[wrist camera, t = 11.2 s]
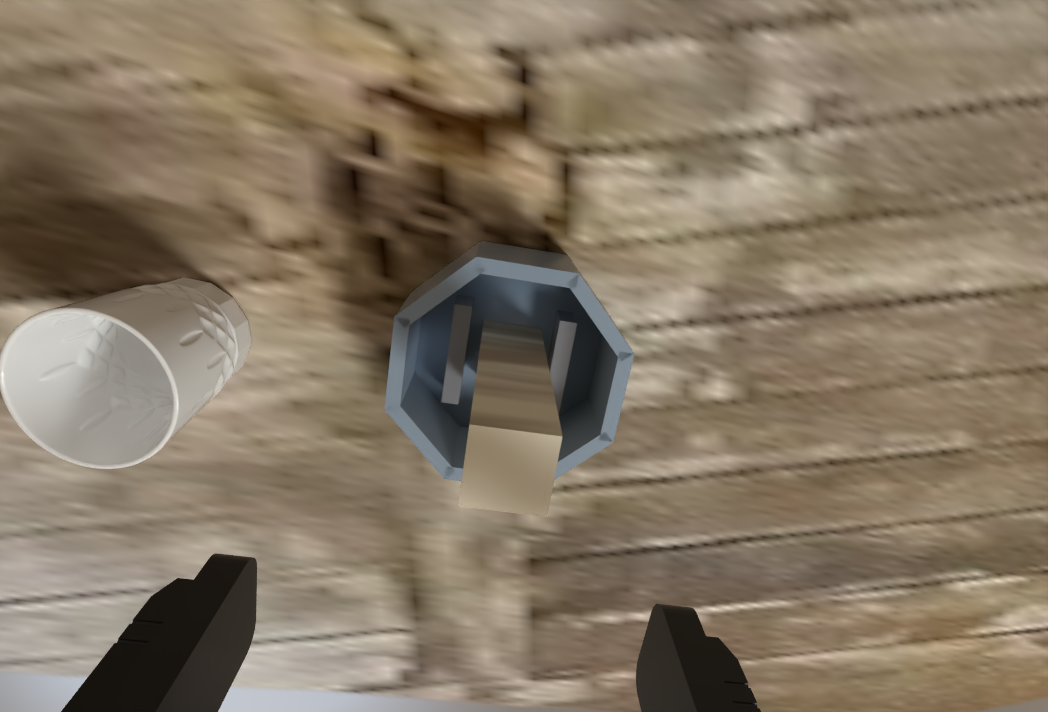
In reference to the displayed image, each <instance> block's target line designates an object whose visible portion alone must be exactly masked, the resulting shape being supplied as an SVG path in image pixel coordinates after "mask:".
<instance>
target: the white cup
mask: <svg viewBox="0 0 1048 712" xmlns="http://www.w3.org/2000/svg"><path fill="white" fill-rule="evenodd" d="M250 346H251V338H250V332H249V325H248V320H247V318H246V316H245V315H244V313H243V312H242V310H241V309H240V307H239V306H238V304H237V303H236V301H235V300H234V298H233V297H231V296H230V295H228V294H227V293H225V292H224V291H222V290H221V289H219V288H218V287H216V286H215V285H213V284H212V283H209V282H204V281H200V280H195V279H190V278H180V279H176V280H171V281H167V282H163V283H159V284H155V285H149V284H148V285H143V286H139V287H135V288H128V289H125V290H121V291H118V292H114V293H110V294H107V295H103V296H99V297H95V298H91V299H88V300H84V301H81V302H77V303H73V304H69V305H66V306H62V307H58V308H54V309H50V310H47V311H43V312H40V313H38V314H35V315H33V316H31V317H30V318H28V319H26V320H25V321H23V322H22V323H21V324H20V325H18V326H17V327H16V328H15V329H14V330H13V331H12V333H11V334H10V335H9V337H8V338H7V340H6V342H5V344H4V346H3V348H2V351H1V354H0V390H1V394H2V397H3V400H4V402H5V404H6V407H7V409H8V410H9V412H10V414H11V416H12V417H13V419H14V420H15V421H16V423H17V424H18V425H19V427H20V428H21V429H22V430H23V431H24V432H25V433H26V434H27V435H28V436H29V437H30V438H31V439H32V440H33V441H34V442H36V443H37V444H38V445H39V446H41V447H42V448H44V449H45V450H47V451H48V452H50V453H52V454H53V455H55V456H57V457H59V458H61V459H64V460H66V461H68V462H71V463H74V464H77V465H81V466H85V467H91V468H99V469H114V468H122V467H127V466H131V465H134V464H137V463H140V462H142V461H144V460H146V459H148V458H150V457H151V456H153V455H154V454H155V453H157V452H158V451H159V450H160V449H161V448H162V447H163V446H164V445H165V444H166V443H167V442H168V441H169V440H170V439H171V438H172V437H173V436H174V435H175V434H176V433H177V432H179V431H180V430H181V429H182V428H183V427H184V426H185V425H186V424H187V423H188V422H189V421H190V420H191V419H192V418H193V417H194V416H195V415H196V414H197V413H198V412H199V411H200V410H201V409H202V408H204V407H205V406H206V405H207V404H208V403H209V402H210V401H211V399H212V398H213V397H214V396H215V395H216V394H217V393H218V392H219V391H220V390H221V389H222V388H223V386H224V385H225V383H226V382H227V380H228V379H229V378H230V377H231V376H232V375H233V374H235V373H236V372H237V371H238V370H239V369H240V368H241V367H242V366H243V365H244V363H245V360H246V357H247V354H248V352H249V349H250Z"/></svg>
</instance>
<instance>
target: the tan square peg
mask: <svg viewBox="0 0 1048 712" xmlns="http://www.w3.org/2000/svg"><path fill="white" fill-rule="evenodd" d="M562 437H563V436H562V431H561V426H560V421H559V416H558V411H557V406H556V401H555V396H554V391H553V386H552V381H551V376H550V371H549V366H548V361H547V356H546V351H545V346H544V341H543V336H542V331H541V328H538V327H531V326H524V325H517V324H510V323H503V322H496V321H489V320H484V323H483V330H482V337H481V344H480V351H479V358H478V365H477V373H476V380H475V387H474V394H473V401H472V409H471V416H470V423H469V430H468V438H467V445H466V452H465V459H464V466H463V474H462V481H461V488H460V495H459V503H458V506H461V507H469V508H478V509H486V510H494V511H503V512H511V513H519V514H527V515H536V516H544V517H547V514H548V509H549V504H550V499H551V494H552V489H553V483H554V478H555V473H556V468H557V463H558V458H559V452H560V447H561V442H562Z"/></svg>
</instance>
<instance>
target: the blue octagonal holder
mask: <svg viewBox="0 0 1048 712" xmlns="http://www.w3.org/2000/svg"><path fill="white" fill-rule="evenodd" d="M484 320H489V321H496V322H503V323H510V324H517V325H524V326H531V327H538V328H541V331H542V336H543V341H544V346H545V351H546V356H547V361H548V366H549V371H550V376H551V381H552V386H553V391H554V396H555V401H556V406H557V411H558V416H559V421H560V426H561V431H562V436H563V437H562V442H561V447H560V452H559V458H558V463H557V468H556V473H555V478H554V480H555V479H556V478H558V477H559V476H561V475H563V474H564V473H566V472H567V471H569V470H570V469H572V468H573V467H575V466H577V465H578V464H580V463H581V462H583V461H584V460H586V459H588V458H589V457H591V456H592V455H594V454H595V453H597V452H599V451H600V450H602V449H603V448H605V447H606V446H608V445H610V444H611V443H613V441H614V437H615V433H616V429H617V424H618V420H619V416H620V412H621V407H622V403H623V399H624V395H625V391H626V386H627V382H628V378H629V374H630V369H631V365H632V361H633V357H634V352H633V351H632V349H631V348H630V346H629V345H628V343H627V341H626V340H625V338H624V337H623V335H622V334H621V332H620V331H619V329H618V328H617V326H616V324H615V323H614V321H613V320H612V319H611V317H610V316H609V314H608V313H607V311H606V310H605V308H604V307H603V305H602V304H601V303H600V301H599V300H598V298H597V297H596V295H595V294H594V292H593V291H592V289H591V288H590V287H589V285H588V284H587V282H586V281H585V279H584V278H583V276H582V275H581V273H580V272H579V271H578V269H577V268H576V266H575V265H574V263H573V262H572V260H571V259H570V257H569V256H568V255H565V254H559V253H553V252H547V251H541V250H534V249H528V248H522V247H516V246H510V245H504V244H498V243H492V242H486V241H480V242H479V243H477V244H476V245H475V246H473V247H472V248H470V249H469V250H468V251H466V252H465V253H464V254H462V255H461V256H460V257H458V258H457V259H455V260H454V261H453V262H451V263H450V264H449V265H447V266H446V267H444V268H443V269H442V270H440V271H439V272H438V273H436V274H435V275H434V276H432V277H431V278H429V279H428V280H427V281H425V282H424V283H423V284H421V285H420V286H419V287H417V288H416V289H414V290H413V291H412V292H411V293H410V295H409V296H408V298H407V299H406V301H405V302H404V303H403V305H402V306H401V308H400V309H399V311H398V312H397V313H396V315H395V316H394V324H393V333H392V343H391V352H390V362H389V371H388V381H387V390H386V400H385V411H386V412H387V413H388V414H389V415H390V417H391V418H392V419H393V420H394V421H395V422H396V424H397V425H398V426H399V427H400V428H401V429H402V431H403V432H404V433H405V434H406V435H407V436H408V438H409V439H410V440H411V441H412V442H413V443H414V444H415V446H416V447H417V448H418V449H419V450H420V451H421V453H422V454H423V455H424V456H425V457H426V458H427V460H428V461H429V462H430V463H431V464H432V465H433V466H434V468H435V469H436V470H437V471H438V472H439V473H440V475H441V476H442V477H443V478H444V479H448V480H455V481H462V474H463V466H464V459H465V452H466V445H467V438H468V430H469V423H470V416H471V409H472V401H473V394H474V387H475V380H476V373H477V365H478V358H479V351H480V344H481V337H482V330H483V323H484Z"/></svg>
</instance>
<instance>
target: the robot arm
mask: <svg viewBox="0 0 1048 712" xmlns="http://www.w3.org/2000/svg"><path fill="white" fill-rule="evenodd" d="M256 591H257V562H256V559H255V558H252V557H243V556H234V555H225V554H213V555H212V556H211V557H210V558H209V559H208V561H207V562H206V564H205V565H204V566H203V568H202V569H201V571H200V572H199V573H198V575H197V576H196V578H195V579H194V580H190V579H181V578H177V579H176V580H174V581H173V582H171V583H170V584H169V585H167V586H166V587H164V588H163V589H161V590H160V591H158V592H157V593H155V594H154V595H153V596H151V597H150V599H149V600H148V601H147V602H146V604H145V605H144V606H143V608H142V609H141V610H140V611H139V613H138V614H137V615H136V617H135V618H134V619H133V623H132V624H129V625H128V627H127V628H126V629H125V631H124V632H123V633H122V634H121V636H120V637H119V638H118V642H117V643H114V645H113V646H112V647H111V648H110V650H109V651H108V652H107V654H106V655H105V656H104V657H103V659H102V660H101V661H100V663H99V664H98V665H97V666H96V668H95V669H94V670H93V672H92V673H91V674H90V675H89V677H88V678H87V679H86V680H85V682H84V683H83V684H82V686H81V687H80V688H79V689H78V691H77V692H76V693H75V695H74V696H73V697H72V699H71V700H70V701H69V702H68V704H67V705H66V706H65V707H64V709H63V710H62V711H61V712H218V710H219V708H220V706H221V704H222V702H223V700H224V698H225V696H226V694H227V692H228V690H229V688H230V686H231V684H232V683H233V681H234V679H235V677H236V675H237V673H238V671H239V669H240V667H241V665H242V663H243V661H244V659H245V657H246V655H247V653H248V650H249V648H250V645H251V642H252V638H253V634H254V630H255V624H256ZM636 686H637V694H638V698H639V703H640V707H641V711H642V712H761V711H760V709H759V708H757V702H756V699H755V697H754V695H753V693H752V691H751V688H748V682H747V679H746V677H745V675H744V673H743V670H742V668H741V666H740V664H739V662H738V659H737V658H736V657H735V656H734V655H733V654H732V653H731V651H730V650H729V649H728V648H727V647H726V646H725V645H724V643H723V642H722V641H721V640H720V639H719V638H717V637H707V636H706V635H705V633H704V630H703V628H702V625H701V623H700V620H699V618H698V615H697V613H696V611H695V610H694V609H693V608H690V607H681V606H672V605H663V604H656V605H655V606H654V607H653V609H652V612H651V616H650V619H649V623H648V626H647V630H646V633H645V637H644V640H643V644H642V647H641V651H640V654H639V658H638V662H637V669H636Z"/></svg>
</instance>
